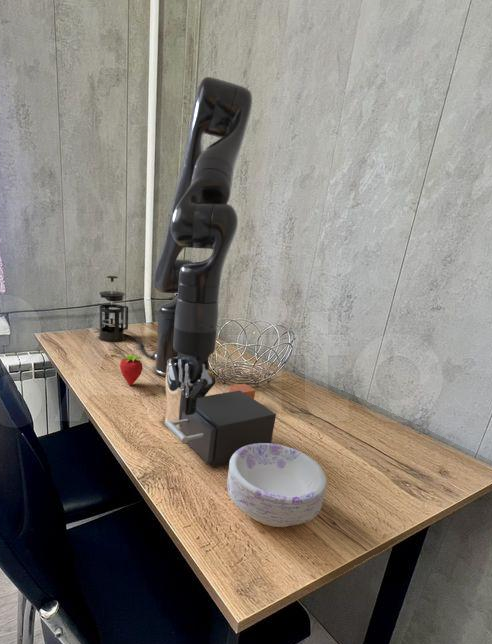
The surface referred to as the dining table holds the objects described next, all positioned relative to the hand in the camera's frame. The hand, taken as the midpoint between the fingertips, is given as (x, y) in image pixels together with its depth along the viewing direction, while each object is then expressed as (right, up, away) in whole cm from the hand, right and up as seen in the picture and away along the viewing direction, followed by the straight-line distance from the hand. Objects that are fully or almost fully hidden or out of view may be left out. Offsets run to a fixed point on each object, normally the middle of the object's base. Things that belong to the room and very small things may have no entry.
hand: (188, 412), depth 76 cm
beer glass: (-2, -4, +16) cm, 16 cm away
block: (+15, -1, +27) cm, 31 cm away
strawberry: (-14, +4, +34) cm, 37 cm away
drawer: (+5, -7, +6) cm, 10 cm away
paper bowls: (+13, -15, -9) cm, 22 cm away
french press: (-25, +20, +74) cm, 81 cm away
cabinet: (+8, -8, +8) cm, 14 cm away
